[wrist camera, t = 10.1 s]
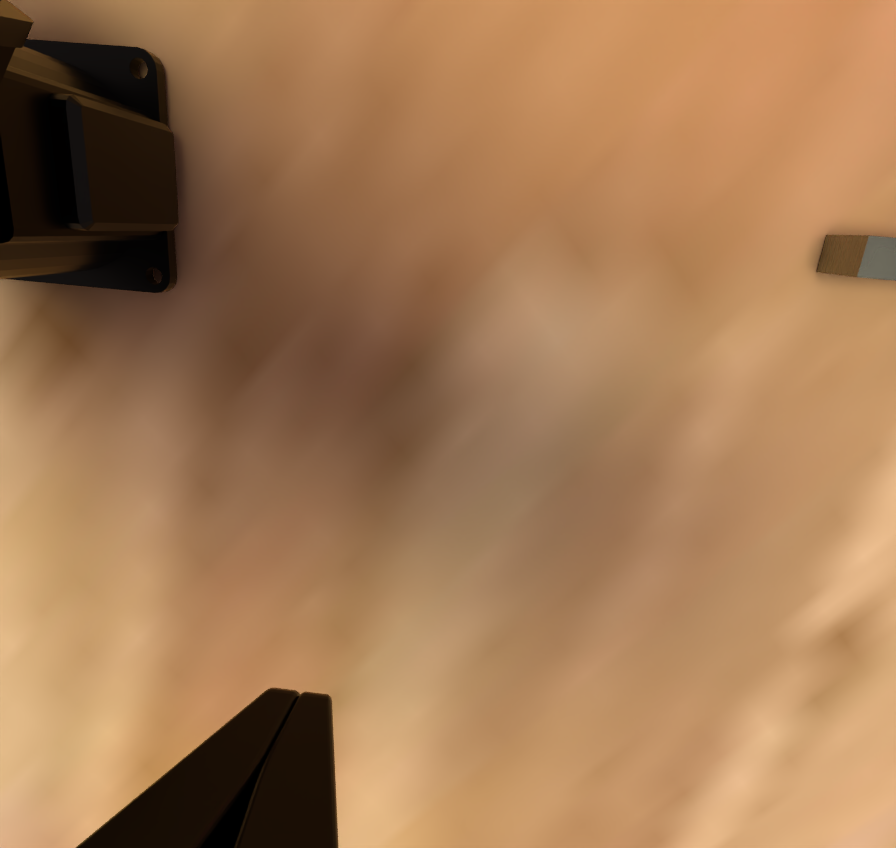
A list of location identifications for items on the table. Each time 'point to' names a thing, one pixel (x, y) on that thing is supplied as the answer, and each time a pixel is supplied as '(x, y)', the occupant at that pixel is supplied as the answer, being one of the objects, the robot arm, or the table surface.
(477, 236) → the table surface
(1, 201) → the robot arm
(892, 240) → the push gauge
